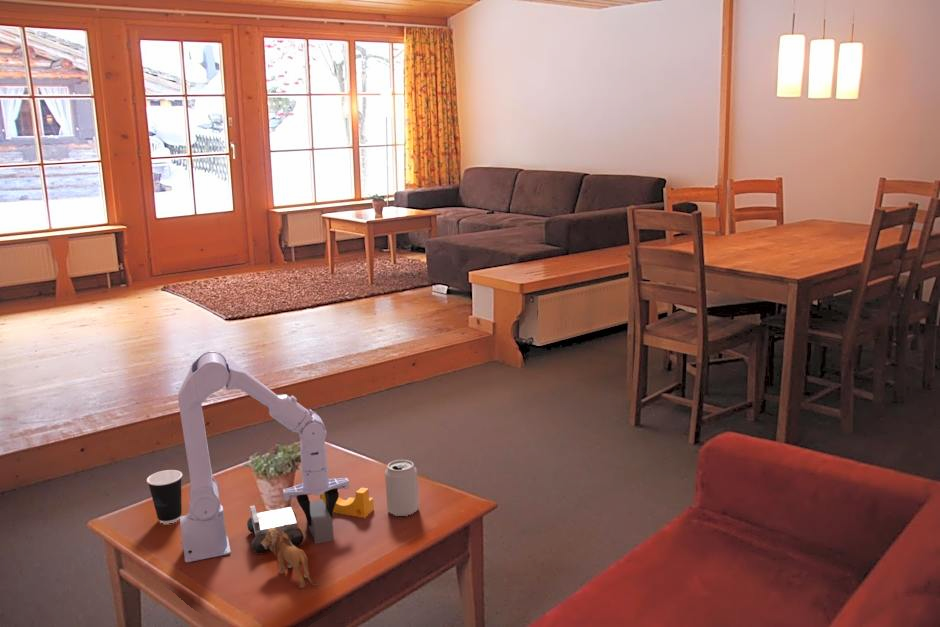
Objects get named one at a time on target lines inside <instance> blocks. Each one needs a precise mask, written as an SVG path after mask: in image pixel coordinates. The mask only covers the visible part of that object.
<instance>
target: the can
mask: <svg viewBox="0 0 940 627" xmlns="http://www.w3.org/2000/svg"><path fill="white" fill-rule="evenodd" d="M418 483H419V482H418V469H417V468H416V467H415V464H414V462H413V461H411V460H408V459H396V460H392V461H391V462H389V463H388V464H387V465H386V469H385V470H384V484H385V497H386V498H385V499H386V509H387V512H388V513H389V514H391V515H392V514H393V515H392V516H394V515H395V516H394V517H397V516H406V517H409V516H408V515H410V516H412V515H414V514H415V513H416V512H417V511H418V510H419V507H420V504H419V503H420V502H419V501H420V500H419V487H418ZM414 512H415V513H414ZM413 513H414V514H413ZM411 514H412V515H411Z"/></svg>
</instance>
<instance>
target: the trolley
mask: <svg viewBox="0 0 940 627" xmlns="http://www.w3.org/2000/svg"><path fill="white" fill-rule="evenodd" d="M292 508H293V507H292V506H288V507H283V508H281V507H280V508H276V509H272V510H267V511H261V512H257V509H256V506H255V504H253V505H250V506H249V509H250V517H249V518H248V519H247V522H246V523H247V524H246V526H247V529H248V531H249V532H250V533H251V534H254V535H255V536H254V538H253V539H252V542H251V546H252V549H253V552H255V553H256V554H258V555H264V554H266V553H268V552H269V551H271V550H270V548H267V549H265V548H264V546H263V545H262V544H261V542H262V541H263V540H264V539H265V537H266V535H267V534H268V529H271V528H278V529H279V530H282V531H283V532H284V533H285V534H287V535H288V537H289V538H290V540H291V542H292V544H293V545H294V546H296V547H297V548H298V547H299V546H301V545H302V544H303V543H304V539H305V536H304V533H303V531H302V529H300V528H298V527H299V526H298V521H297V515H296V513H295V511H294V510H293V509H292Z"/></svg>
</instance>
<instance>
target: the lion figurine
mask: <svg viewBox="0 0 940 627" xmlns="http://www.w3.org/2000/svg"><path fill="white" fill-rule="evenodd" d="M261 544H262V545H263V546H264V548H265V549H267V548H270V550H269V551H271V552H273V554H274V556H275V557H276V558H277V562H278V565H279V567H280V568H279V569H278V571H277V573H278V574H279V575H281V574H284V573H285V571H286V568H285V565H284V564H285V561H286V562H287V565H286V567H287V568H288V569H291V568H293V571H294V574H295V575H296V577H297V578H298V580H299V584H298V588H299V589H303V588H305V586H306V583H305V580H304V579H305V578H306V579H307V580H308V581H309V582H310V583H311V584H312V585H314V586H316V585H318V582H317V581H315V580H314V579H312V578H311V577H310V572H309V567H308V562H309V560H308V556H307V554H306V553H305V551H304V549H301V548H298V546H297V547H296V546H294V545H293V544H292V542H291V540H290V538H289V537H288V535H287V534H286V532H283V531H282V530H279V529H278V528H271V529H268V534H267V535H266V537H265V539H264V540H263V541H262V542H261ZM301 565H302V569H303V572H304V575H302V574H301ZM303 576H304V577H303Z"/></svg>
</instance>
